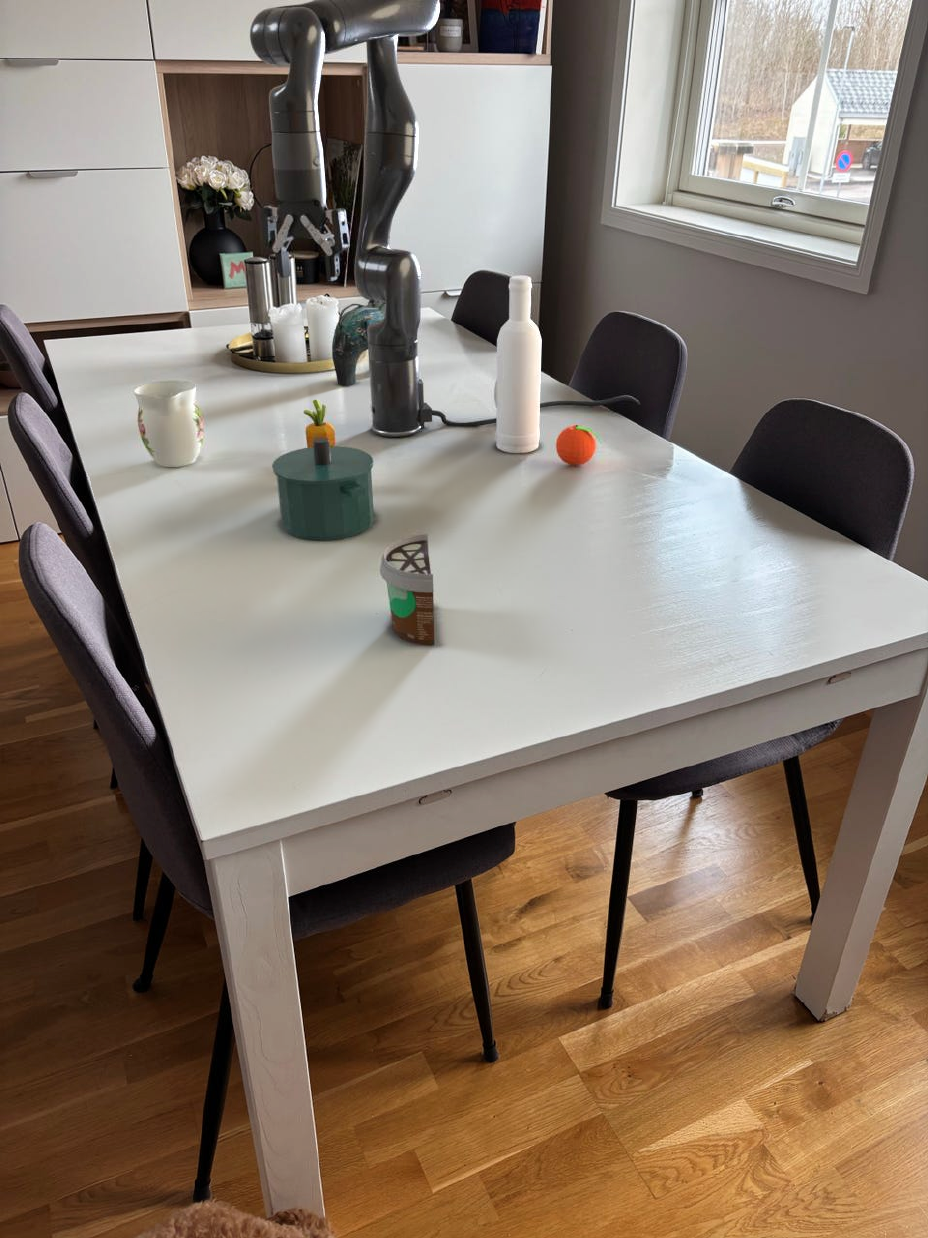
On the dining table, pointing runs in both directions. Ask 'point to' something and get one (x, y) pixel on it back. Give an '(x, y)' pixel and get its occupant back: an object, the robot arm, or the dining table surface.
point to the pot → (326, 508)
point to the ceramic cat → (353, 338)
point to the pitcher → (170, 422)
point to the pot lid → (322, 464)
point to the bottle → (518, 373)
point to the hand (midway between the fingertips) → (308, 278)
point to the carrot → (319, 426)
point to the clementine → (576, 445)
